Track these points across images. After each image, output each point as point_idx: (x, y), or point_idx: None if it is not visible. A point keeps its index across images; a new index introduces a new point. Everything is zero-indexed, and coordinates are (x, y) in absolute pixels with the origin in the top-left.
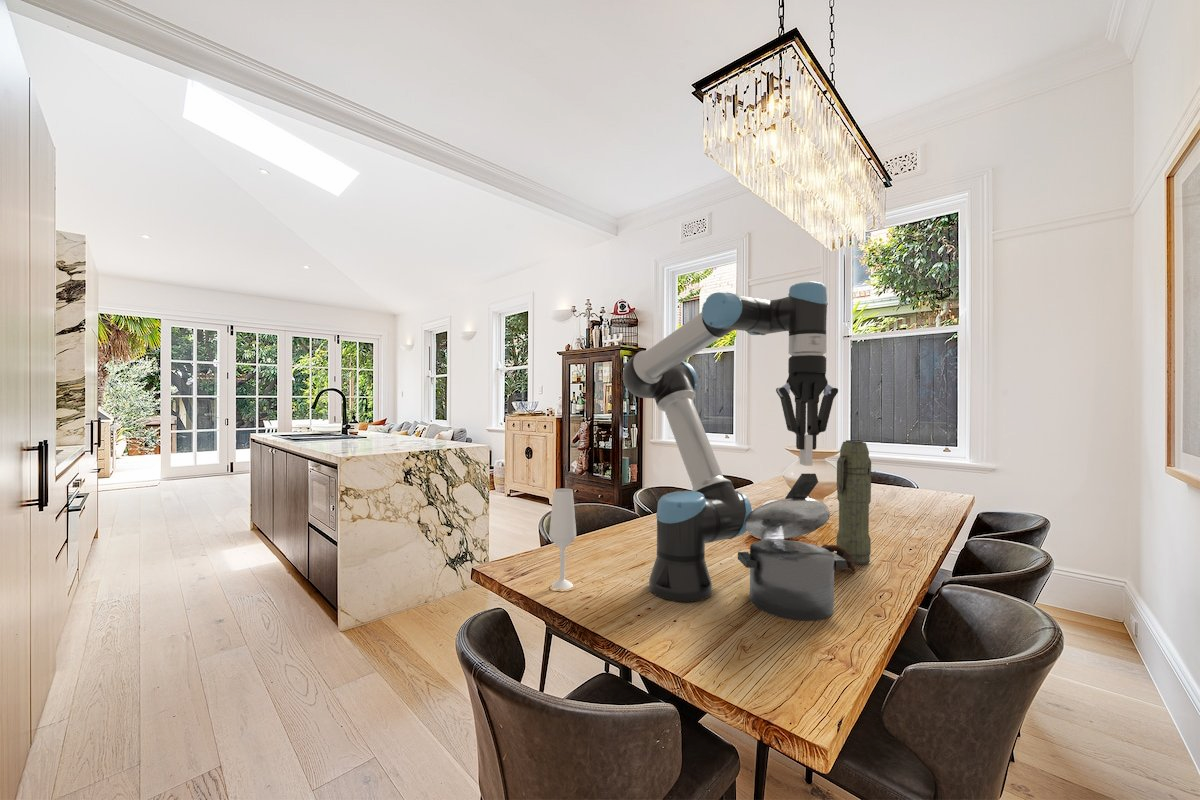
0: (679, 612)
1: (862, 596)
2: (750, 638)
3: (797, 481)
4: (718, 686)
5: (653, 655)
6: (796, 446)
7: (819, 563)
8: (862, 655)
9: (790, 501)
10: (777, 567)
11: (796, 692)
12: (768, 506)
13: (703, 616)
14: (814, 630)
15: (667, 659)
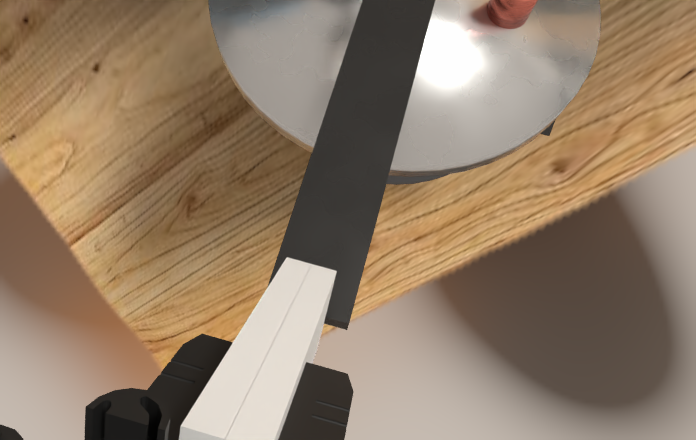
0: (115, 30)
1: (636, 59)
2: (217, 177)
3: (289, 225)
4: (111, 281)
5: (35, 182)
6: (181, 352)
7: (399, 182)
8: (377, 281)
9: (308, 147)
10: None
11: (209, 322)
12: (234, 81)
13: (161, 64)
14: None
15: (55, 199)
